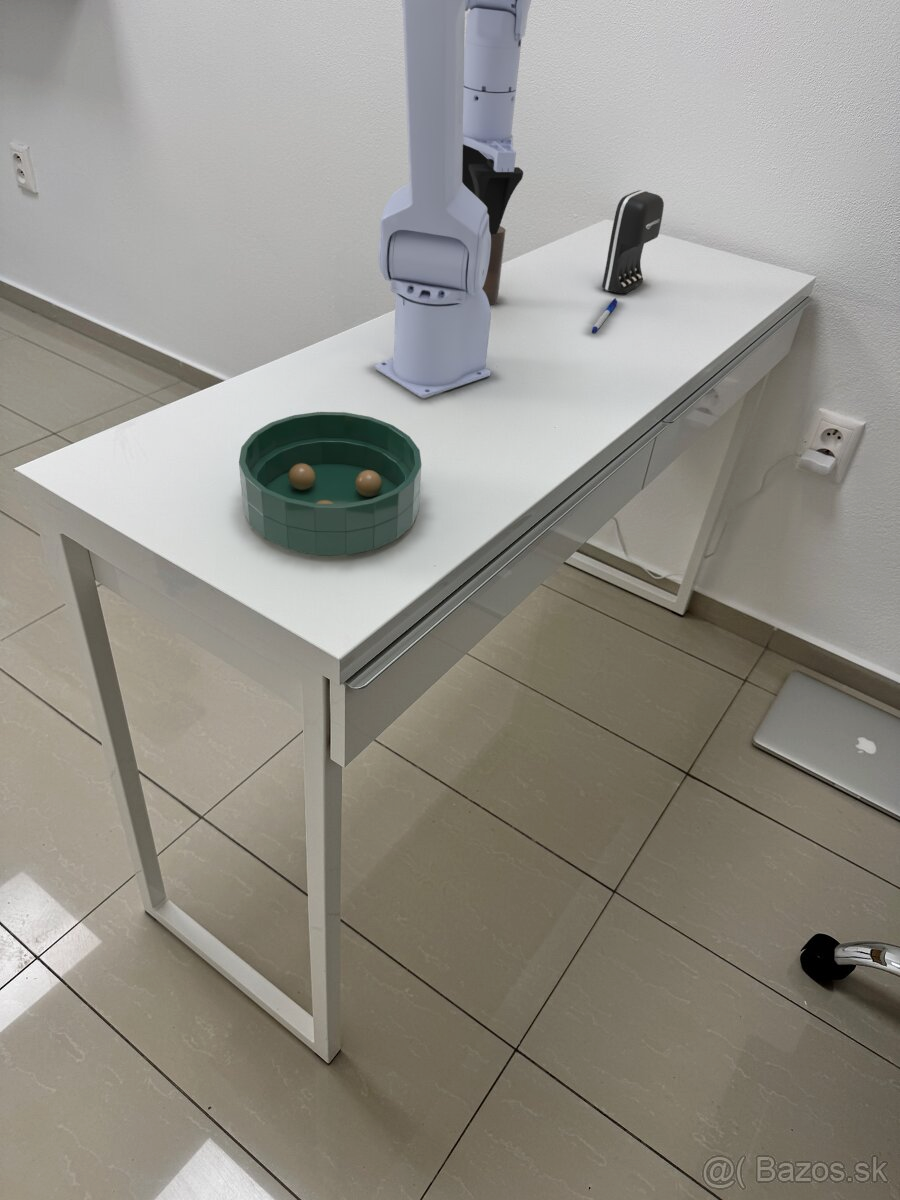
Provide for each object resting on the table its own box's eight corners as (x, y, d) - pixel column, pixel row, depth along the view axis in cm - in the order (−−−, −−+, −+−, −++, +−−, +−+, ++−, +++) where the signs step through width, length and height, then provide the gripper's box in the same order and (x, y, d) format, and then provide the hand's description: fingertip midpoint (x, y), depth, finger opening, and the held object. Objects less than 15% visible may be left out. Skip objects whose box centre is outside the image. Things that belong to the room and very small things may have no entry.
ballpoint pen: (610, 303, 110) (612, 295, 109) (617, 304, 109) (619, 296, 109) (590, 334, 102) (592, 325, 101) (597, 335, 102) (599, 327, 101)
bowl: (350, 446, 79) (350, 396, 76) (452, 520, 71) (457, 468, 68) (212, 496, 71) (205, 443, 68) (309, 585, 64) (307, 530, 61)
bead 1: (305, 478, 73) (305, 455, 72) (321, 490, 72) (320, 467, 71) (283, 486, 72) (282, 463, 71) (298, 498, 71) (297, 475, 70)
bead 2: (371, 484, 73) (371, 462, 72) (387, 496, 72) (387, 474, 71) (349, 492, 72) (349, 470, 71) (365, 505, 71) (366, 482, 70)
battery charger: (625, 299, 111) (645, 204, 103) (599, 290, 112) (617, 196, 105) (650, 285, 115) (671, 193, 108) (625, 276, 117) (644, 186, 109)
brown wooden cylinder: (486, 293, 109) (493, 223, 103) (502, 301, 107) (510, 230, 102) (468, 298, 107) (474, 226, 102) (484, 307, 105) (492, 234, 100)
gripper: (433, 71, 95) (426, 202, 104) (474, 102, 85) (462, 245, 94) (494, 72, 97) (482, 201, 106) (541, 103, 87) (523, 243, 96)
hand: (476, 221), depth 100 cm, fingers open, 7 cm apart
